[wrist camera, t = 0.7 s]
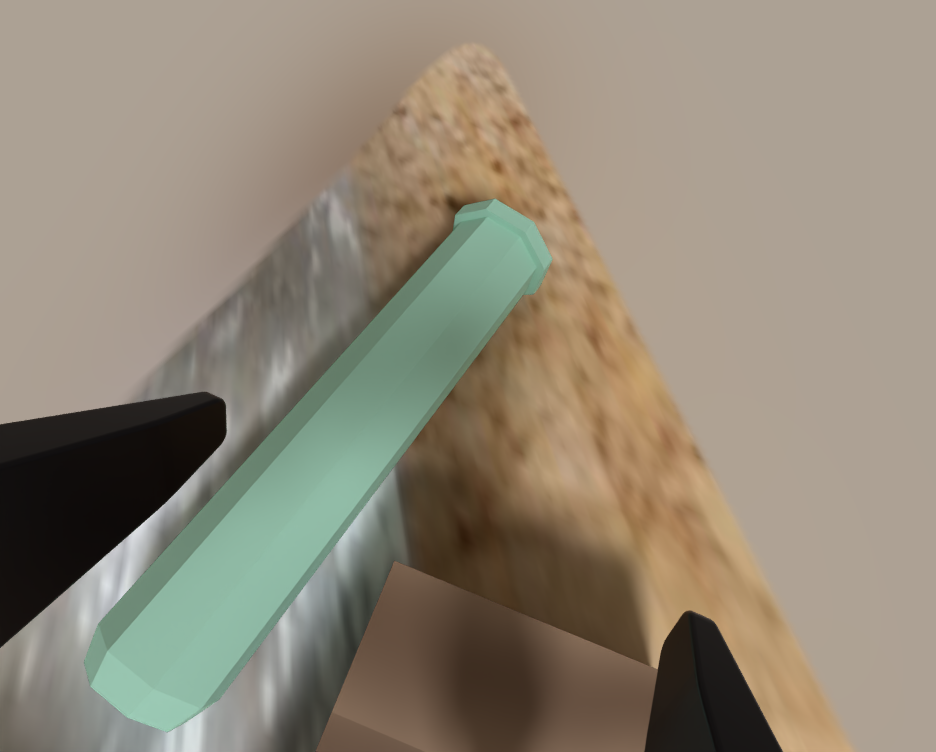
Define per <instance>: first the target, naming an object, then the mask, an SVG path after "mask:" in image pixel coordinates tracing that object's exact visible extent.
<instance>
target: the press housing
mask: <svg viewBox="0 0 936 752" xmlns="http://www.w3.org/2000/svg"><path fill="white" fill-rule="evenodd" d="M657 672H658V669H655V668H653V667H650V666H648V665H645V664H643V663H641V662H638V661H636V660H633V659H631V658H629V657H626V656H624V655H621V654H619V653H616V652H614V651H612V650H609V649H607V648H604V647H602V646H600V645H597V644H595V643H592V642H590V641H587V640H585V639H583V638H580V637H578V636H575V635H573V634H571V633H568V632H566V631H563V630H561V629H558V628H556V627H554V626H551V625H549V624H546V623H544V622H541V621H539V620H537V619H534V618H532V617H529V616H527V615H525V614H522V613H520V612H517V611H515V610H512V609H510V608H508V607H505V606H503V605H500V604H498V603H496V602H493V601H491V600H488V599H486V598H483V597H481V596H479V595H476V594H474V593H471V592H469V591H467V590H464V589H462V588H459V587H457V586H454V585H452V584H450V583H447V582H445V581H442V580H440V579H437V578H435V577H433V576H430V575H428V574H425V573H423V572H421V571H418V570H416V569H413V568H411V567H408V566H406V565H404V564H401V563H399V562H396V561H394V563H393V565H392V568H391V570H390V573H389V575H388V577H387V580H386V582H385V585H384V587H383V590H382V592H381V594H380V597H379V599H378V602H377V604H376V606H375V609H374V611H373V614H372V616H371V619H370V621H369V623H368V626H367V628H366V631H365V633H364V635H363V638H362V640H361V643H360V645H359V647H358V650H357V652H356V655H355V657H354V660H353V662H352V664H351V667H350V669H349V672H348V674H347V676H346V679H345V681H344V684H343V686H342V689H341V691H340V693H339V696H338V698H337V701H336V703H335V705H334V708H333V710H332V713H331V715H330V717H329V720H328V722H327V725H326V727H325V730H324V732H323V734H322V737H321V739H320V742H319V744H318V746H317V749H316V751H315V752H644V751H645V744H646V737H647V731H648V725H649V719H650V713H651V707H652V701H653V695H654V689H655V684H656V678H657Z"/></svg>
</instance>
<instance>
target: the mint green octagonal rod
mask: <svg viewBox="0 0 936 752" xmlns="http://www.w3.org/2000/svg"><path fill="white" fill-rule="evenodd" d="M551 261H552V257H551V255H550V253H549V251H548V249H547V247H546V245H545V243H544V241H543V239H542V237H541V235H540V233H539V231H538V229H537V227H536V225H535V223H534V222H533V221H531V220H530V219H528V218H526V217H525V216H523V215H521V214H520V213H518V212H516V211H515V210H513V209H511V208H510V207H508V206H506V205H505V204H503V203H501V202H500V201H498V200H496V199H491V200H487V201H482V202H478V203H473V204H468V205H464V206H463V207H462V208H461V209H460V211H459V212H458V213H457V214H456V215H455V220H454V227H453V232H452V233H451V234H450V235H449V236H448V237H447V238H446V239H445V241H444V242H443V243H442V244H441V245H440V246H439V247H438V248H437V249H436V250H435V252H434V253H433V254H432V255H431V256H430V257H429V258H428V259H427V260H426V262H425V263H424V264H423V265H422V266H421V267H420V268H419V269H418V270H417V272H416V273H415V274H414V275H413V276H412V277H411V278H410V279H409V280H408V281H407V283H406V284H405V285H404V286H403V287H402V288H401V289H400V290H399V291H398V293H397V294H396V295H395V296H394V297H393V298H392V299H391V300H390V301H389V303H388V304H387V305H386V306H385V307H384V308H383V309H382V310H381V311H380V312H379V314H378V315H377V316H376V317H375V318H374V319H373V320H372V321H371V322H370V324H369V325H368V326H367V327H366V328H365V329H364V330H363V331H362V332H361V334H360V335H359V336H358V337H357V338H356V339H355V340H354V341H353V342H352V343H351V345H350V346H349V347H348V348H347V349H346V350H345V351H344V352H343V353H342V355H341V356H340V357H339V358H338V359H337V360H336V361H335V362H334V363H333V364H332V366H331V367H330V368H329V369H328V370H327V371H326V372H325V373H324V374H323V376H322V377H321V378H320V379H319V380H318V381H317V382H316V383H315V384H314V386H313V387H312V388H311V389H310V390H309V391H308V392H307V393H306V394H305V395H304V397H303V398H302V399H301V400H300V401H299V402H298V403H297V404H296V405H295V407H294V408H293V409H292V410H291V411H290V412H289V413H288V414H287V415H286V417H285V418H284V419H283V420H282V421H281V422H280V423H279V424H278V425H277V426H276V428H275V429H274V430H273V431H272V432H271V433H270V434H269V435H268V436H267V438H266V439H265V440H264V441H263V442H262V443H261V444H260V445H259V446H258V448H257V449H256V450H255V451H254V452H253V453H252V454H251V455H250V456H249V457H248V459H247V460H246V461H245V462H244V463H243V464H242V465H241V466H240V467H239V469H238V470H237V471H236V472H235V473H234V474H233V475H232V476H231V477H230V479H229V480H228V481H227V482H226V483H225V484H224V485H223V486H222V487H221V488H220V490H219V491H218V492H217V493H216V494H215V495H214V496H213V497H212V498H211V500H210V501H209V502H208V503H207V504H206V505H205V506H204V507H203V508H202V510H201V511H200V512H199V513H198V514H197V515H196V516H195V517H194V518H193V519H192V521H191V522H190V523H189V524H188V525H187V526H186V527H185V528H184V529H183V531H182V532H181V533H180V534H179V535H178V536H177V537H176V538H175V539H174V540H173V542H172V543H171V544H170V545H169V546H168V547H167V548H166V549H165V550H164V552H163V553H162V554H161V555H160V556H159V557H158V558H157V559H156V560H155V562H154V563H153V564H152V565H151V566H150V567H149V568H148V569H147V570H146V571H145V573H144V574H143V575H142V576H141V577H140V578H139V579H138V580H137V581H136V583H135V584H134V585H133V586H132V587H131V588H130V589H129V590H128V591H127V593H126V594H125V595H124V596H123V597H122V598H121V599H120V600H119V601H118V602H117V604H116V605H115V606H114V607H113V608H112V609H111V610H110V611H109V612H108V614H107V615H106V616H105V617H104V618H103V619H102V620H101V621H100V622H99V624H98V626H97V628H96V631H95V634H94V636H93V639H92V642H91V644H90V647H89V650H88V652H87V655H86V658H85V660H84V664H85V668H86V672H87V676H88V679H89V683H90V687H91V688H93V689H94V690H95V691H96V692H97V693H99V694H100V695H101V696H102V697H103V698H104V699H106V700H107V701H108V702H109V703H110V704H112V705H113V706H114V707H115V708H116V709H117V710H119V711H120V712H121V713H122V714H123V715H125V716H126V717H127V718H129V719H132V720H135V721H138V722H141V723H143V724H146V725H149V726H152V727H154V728H157V729H160V730H163V731H165V732H169V731H171V730H173V729H175V728H176V727H178V726H180V725H182V724H184V723H185V722H187V721H188V720H190V719H191V718H193V717H194V716H196V715H197V714H199V713H200V712H202V711H203V710H205V709H206V708H208V707H209V706H210V705H212V704H213V703H215V702H216V701H218V700H219V699H220V698H221V697H222V695H223V694H224V693H225V691H226V690H227V689H228V687H229V686H230V685H231V683H232V682H233V681H234V679H235V678H236V677H237V675H238V674H239V673H240V671H241V670H242V669H243V667H244V666H245V665H246V663H247V662H248V661H249V659H250V658H251V657H252V655H253V654H254V653H255V651H256V650H257V649H258V647H259V646H260V645H261V643H262V642H263V641H264V639H265V638H266V637H267V635H268V634H269V633H270V631H271V630H272V629H273V627H274V626H275V625H276V623H277V622H278V621H279V619H280V618H281V617H282V615H283V614H284V613H285V611H286V610H287V609H288V607H289V606H290V605H291V603H292V602H293V601H294V599H295V598H296V597H297V595H298V594H299V593H300V591H301V590H302V589H303V587H304V586H305V585H306V583H307V582H308V581H309V579H310V578H311V577H312V575H313V574H314V573H315V571H316V570H317V569H318V567H319V566H320V565H321V563H322V562H323V561H324V559H325V558H326V557H327V555H328V554H329V553H330V551H331V550H332V549H333V547H334V546H335V545H336V543H337V542H338V541H339V539H340V538H341V537H342V535H343V534H344V533H345V531H346V530H347V529H348V527H349V526H350V525H351V523H352V522H353V521H354V519H355V518H356V517H357V515H358V514H359V513H360V511H361V510H362V509H363V507H364V506H365V505H366V503H367V502H368V501H369V499H370V498H371V497H372V495H373V494H374V493H375V491H376V490H377V489H378V487H379V486H380V485H381V483H382V482H383V481H384V479H385V478H386V477H387V475H388V474H389V473H390V471H391V470H392V469H393V467H394V466H395V465H396V463H397V462H398V461H399V459H400V458H401V457H402V455H403V454H404V453H405V452H406V450H407V449H408V448H409V446H410V445H411V444H412V442H413V441H414V440H415V438H416V437H417V436H418V434H419V433H420V432H421V430H422V429H423V428H424V426H425V425H426V424H427V422H428V421H429V420H430V418H431V417H432V416H433V414H434V413H435V412H436V410H437V409H438V408H439V406H440V405H441V404H442V402H443V401H444V400H445V398H446V397H447V396H448V394H449V393H450V392H451V390H452V389H453V388H454V386H455V385H456V384H457V382H458V381H459V380H460V378H461V377H462V376H463V374H464V373H465V372H466V370H467V369H468V368H469V366H470V365H471V364H472V362H473V361H474V360H475V358H476V357H477V356H478V354H479V353H480V352H481V350H482V349H483V348H484V346H485V345H486V344H487V342H488V341H489V340H490V338H491V337H492V336H493V334H494V333H495V332H496V330H497V329H498V328H499V326H500V325H501V324H502V322H503V321H504V320H505V318H506V317H507V316H508V314H509V313H510V312H511V310H512V309H513V308H514V306H515V305H516V304H517V302H518V301H519V300H520V298H521V297H522V296H523V295H532V294H534V293H535V292H536V291H537V289H538V288H539V287H540V285H541V284H542V281H543V279H544V277H545V275H546V273H547V270H548V268H549V266H550V264H551Z"/></svg>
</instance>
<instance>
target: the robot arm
mask: <svg viewBox="0 0 936 752" xmlns="http://www.w3.org/2000/svg"><path fill="white" fill-rule="evenodd" d="M226 432H227V428H226V404H225V402H224V400H223V399H221V398H219V397H217V396H215V395H213V394H210V393H208V392H199V393H193V394H186V395H180V396H174V397H168V398H162V399H155V400H149V401H143V402H137V403H130V404H124V405H118V406H112V407H106V408H99V409H93V410H87V411H81V412H75V413H68V414H62V415H56V416H50V417H44V418H38V419H32V420H25V421H19V422H12V423H6V424H1V425H0V648H1V647H2V646H3V645H4V644H5V643H6V642H8V641H9V640H10V639H11V638H12V637H13V636H14V635H16V634H17V633H18V632H19V631H20V630H21V629H22V628H24V627H25V626H26V625H27V624H28V623H29V622H30V621H32V620H33V619H34V618H35V617H36V616H37V615H38V614H40V613H41V612H42V611H43V610H44V609H45V608H46V607H48V606H49V605H50V604H51V603H52V602H53V601H54V600H56V599H57V598H58V597H59V596H60V595H61V594H62V593H64V592H65V591H66V590H67V589H68V588H69V587H70V586H72V585H73V584H74V583H75V582H76V581H77V580H78V579H79V578H81V577H82V576H83V575H84V574H85V573H86V572H87V571H89V570H90V569H91V568H92V567H93V566H94V565H95V564H97V563H98V562H99V561H100V560H101V559H102V558H103V557H105V556H106V555H107V554H108V553H109V552H110V551H111V550H113V549H114V548H115V547H116V546H117V545H118V544H119V543H121V542H122V541H123V540H124V539H125V538H126V537H127V536H129V535H130V534H131V533H132V532H133V531H134V530H135V529H137V528H138V527H139V526H140V525H141V524H142V523H143V522H145V521H146V520H147V519H148V518H149V517H150V516H151V515H153V514H154V513H155V512H156V511H157V510H158V509H159V508H160V507H161V506H162V505H164V504H165V503H166V502H167V501H168V500H169V499H170V498H171V497H172V496H173V495H174V494H175V493H176V492H177V491H178V490H179V489H180V488H181V487H182V485H183V484H184V483H185V482H186V481H187V480H188V479H189V478H190V477H191V476H192V475H193V474H194V473H195V472H196V471H197V470H198V469H199V467H200V466H201V465H202V464H203V463H204V462H205V461H206V460H207V459H208V458H209V457H210V456H211V455H212V454H213V453H214V452H215V451H216V449H217V448H218V447H219V446H220V445H221V444H222V442H223V441H224V439H225V437H226ZM644 752H783V751H782V749H781V747H780V745H779V743H778V742H777V740H776V738H775V736H774V734H773V732H772V730H771V728H770V726H769V724H768V722H767V721H766V719H765V717H764V715H763V713H762V711H761V709H760V707H759V705H758V703H757V701H756V700H755V698H754V696H753V694H752V692H751V690H750V688H749V686H748V684H747V682H746V680H745V679H744V677H743V675H742V673H741V671H740V669H739V667H738V665H737V663H736V661H735V659H734V658H733V656H732V654H731V652H730V650H729V648H728V646H727V644H726V642H725V640H724V638H723V637H722V635H721V633H720V631H719V629H718V627H717V625H716V624H715V623H714V622H713V621H712V620H711V619H709V618H706V617H704V616H702V615H700V614H698V613H695V612H693V611H686V612H684V613H683V615H682V616H681V617H680V619H679V620H678V622H677V623H676V625H675V626H674V628H673V629H672V631H671V632H670V633H669V635H668V636H667V638H666V640H665V642H664V644H663V647H662V650H661V654H660V660H659V666H658V672H657V678H656V684H655V689H654V695H653V701H652V707H651V713H650V719H649V725H648V731H647V737H646V744H645V751H644Z"/></svg>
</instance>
